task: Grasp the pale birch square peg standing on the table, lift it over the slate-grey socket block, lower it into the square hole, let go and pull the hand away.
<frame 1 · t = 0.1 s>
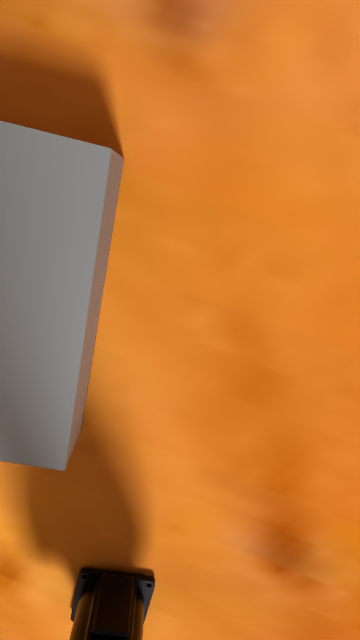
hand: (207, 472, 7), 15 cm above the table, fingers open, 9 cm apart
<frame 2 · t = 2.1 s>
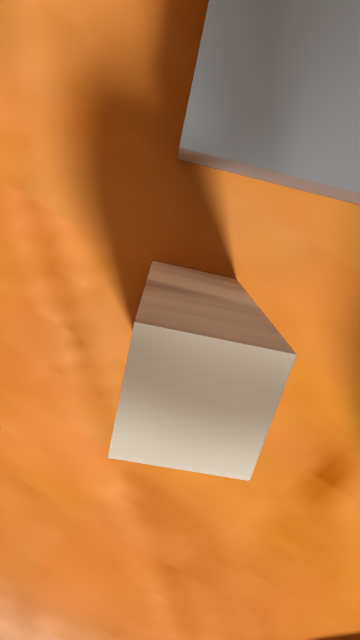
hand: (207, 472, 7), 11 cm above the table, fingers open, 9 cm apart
birch peg: (185, 310, 18), on the table
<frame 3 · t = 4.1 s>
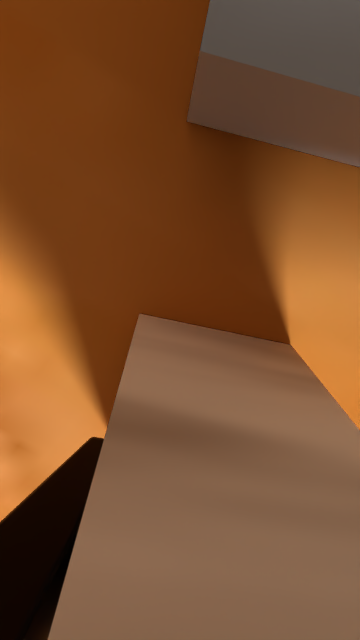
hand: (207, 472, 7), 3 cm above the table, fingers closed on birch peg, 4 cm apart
birch peg: (198, 396, 10), on the table, touching gripper
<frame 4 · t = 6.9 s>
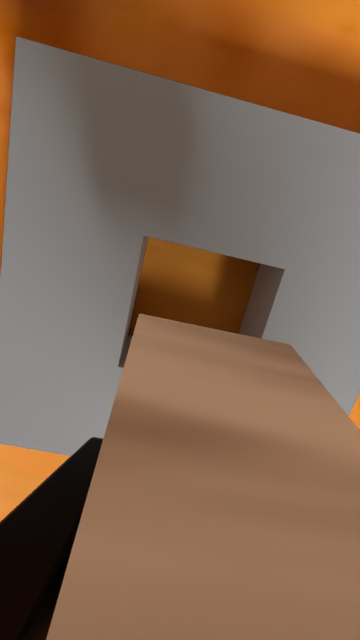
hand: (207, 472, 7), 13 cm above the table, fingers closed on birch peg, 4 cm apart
birch peg: (197, 395, 10), point 10 cm above the table, touching gripper
socket block: (192, 297, 20), on the table
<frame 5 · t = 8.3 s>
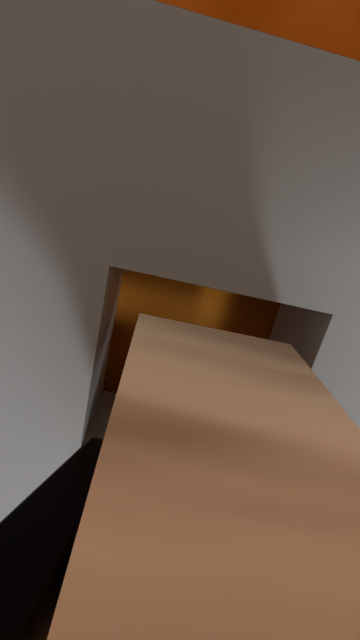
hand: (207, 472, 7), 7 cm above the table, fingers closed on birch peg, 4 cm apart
birch peg: (198, 395, 10), point 4 cm above the table, touching gripper
socket block: (190, 338, 14), on the table
when the fingers open (5 cm above the table, at t = 9.6 s): birch peg drops 2 cm, resting in socket block.
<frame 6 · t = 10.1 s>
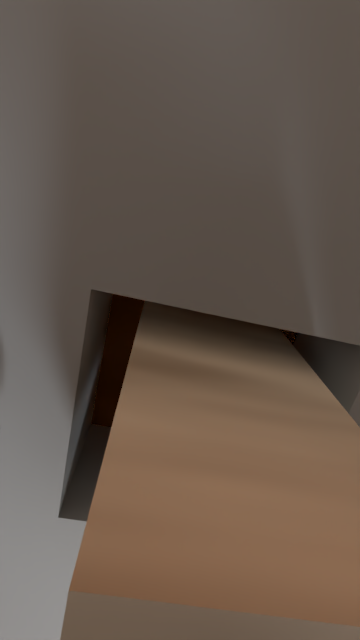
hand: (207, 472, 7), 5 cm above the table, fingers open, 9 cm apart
birch peg: (195, 365, 12), resting in socket block
socket block: (194, 365, 12), on the table
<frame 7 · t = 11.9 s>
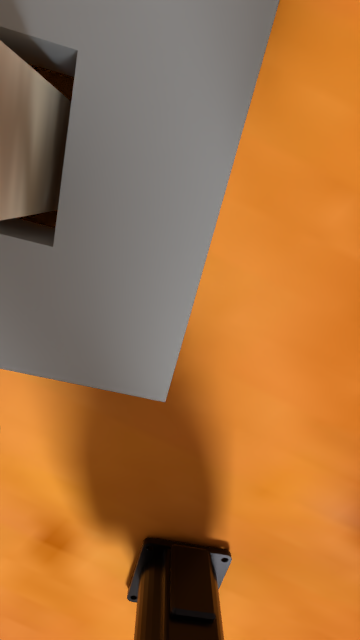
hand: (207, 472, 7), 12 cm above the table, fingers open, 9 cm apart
birch peg: (20, 146, 15), resting in socket block
socket block: (19, 145, 15), on the table
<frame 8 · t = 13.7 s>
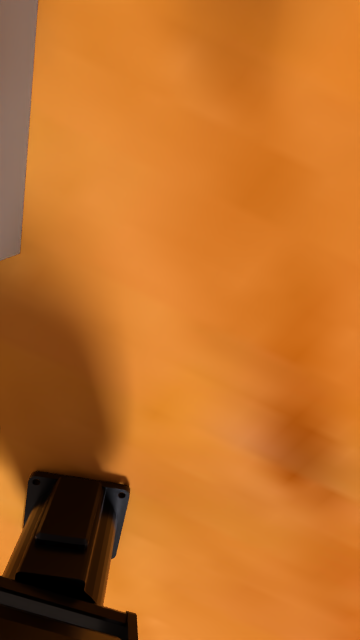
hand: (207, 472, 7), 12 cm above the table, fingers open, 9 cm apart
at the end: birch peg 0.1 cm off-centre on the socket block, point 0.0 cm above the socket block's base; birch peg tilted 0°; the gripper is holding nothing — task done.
